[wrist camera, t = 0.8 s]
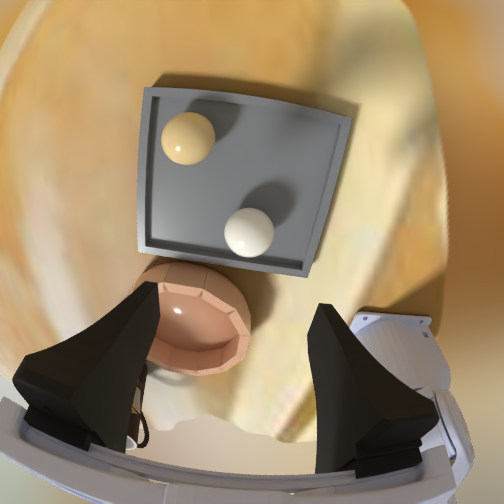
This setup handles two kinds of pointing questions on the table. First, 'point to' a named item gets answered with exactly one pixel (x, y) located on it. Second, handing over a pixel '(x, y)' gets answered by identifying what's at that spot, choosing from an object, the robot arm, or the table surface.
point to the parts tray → (238, 178)
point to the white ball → (249, 232)
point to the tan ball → (188, 138)
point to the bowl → (197, 319)
